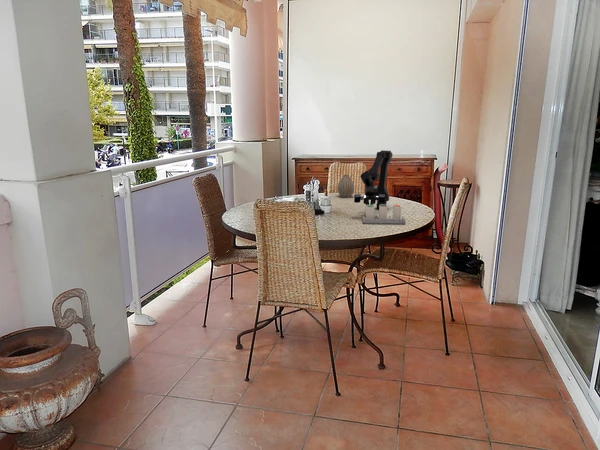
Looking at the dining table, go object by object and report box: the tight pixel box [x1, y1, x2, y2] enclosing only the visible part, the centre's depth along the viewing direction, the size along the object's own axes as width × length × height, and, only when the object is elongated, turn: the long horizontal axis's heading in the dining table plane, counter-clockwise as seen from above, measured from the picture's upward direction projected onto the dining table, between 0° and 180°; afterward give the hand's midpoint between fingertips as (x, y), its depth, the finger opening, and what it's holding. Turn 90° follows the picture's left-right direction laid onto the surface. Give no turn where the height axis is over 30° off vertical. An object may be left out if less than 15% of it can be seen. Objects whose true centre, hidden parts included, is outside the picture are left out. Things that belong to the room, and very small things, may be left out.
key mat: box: [361, 217, 406, 226], centre depth 260 cm, size 12×24×1 cm, turn 83°
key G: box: [365, 204, 375, 218], centre depth 260 cm, size 4×4×9 cm
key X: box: [378, 204, 388, 218], centre depth 261 cm, size 4×4×9 cm
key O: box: [391, 203, 402, 219], centre depth 260 cm, size 4×4×9 cm
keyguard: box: [362, 215, 407, 224], centre depth 259 cm, size 10×24×2 cm, turn 83°
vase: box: [336, 173, 355, 198], centre depth 341 cm, size 13×13×18 cm
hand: (369, 210), depth 263 cm, fingers closed
